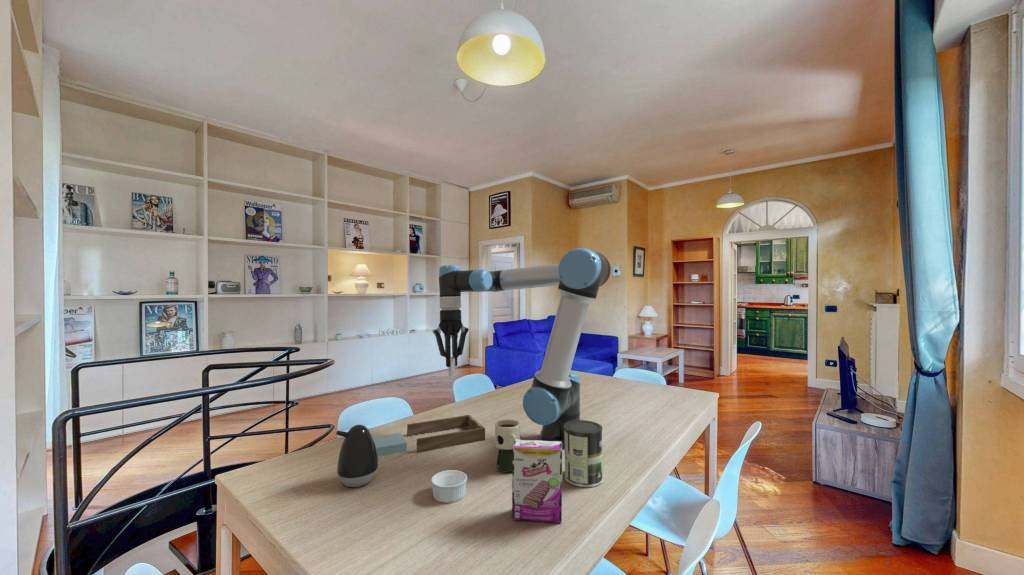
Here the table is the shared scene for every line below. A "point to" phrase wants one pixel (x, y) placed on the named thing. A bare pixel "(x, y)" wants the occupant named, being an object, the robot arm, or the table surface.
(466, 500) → the table surface
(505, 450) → the character mug
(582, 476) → the coffee can
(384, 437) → the cover plate
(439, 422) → the walnut box
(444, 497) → the ramekin
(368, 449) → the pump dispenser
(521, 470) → the candy bar box
